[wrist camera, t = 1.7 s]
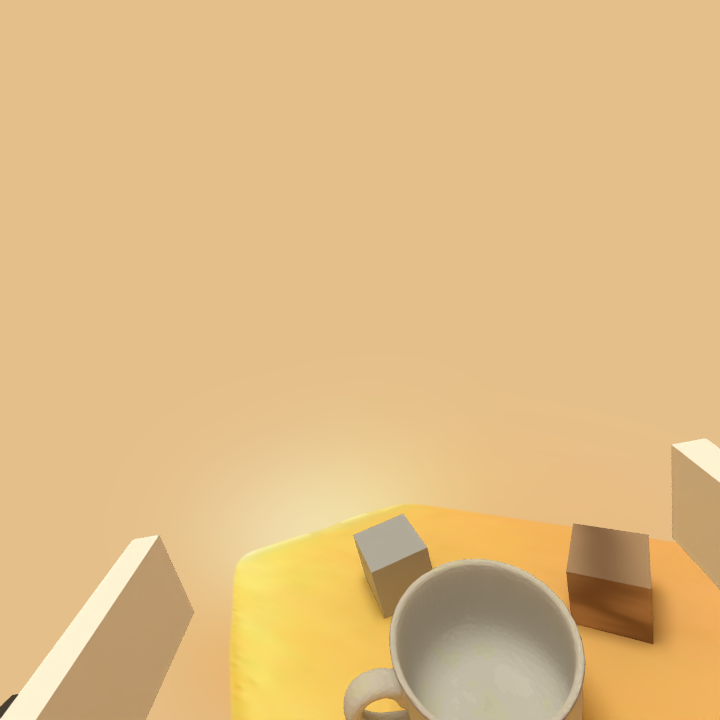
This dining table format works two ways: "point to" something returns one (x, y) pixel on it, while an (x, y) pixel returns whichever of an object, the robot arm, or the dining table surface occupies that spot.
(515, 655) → the teacup
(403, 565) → the slate block
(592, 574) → the walnut block
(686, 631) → the dining table surface
